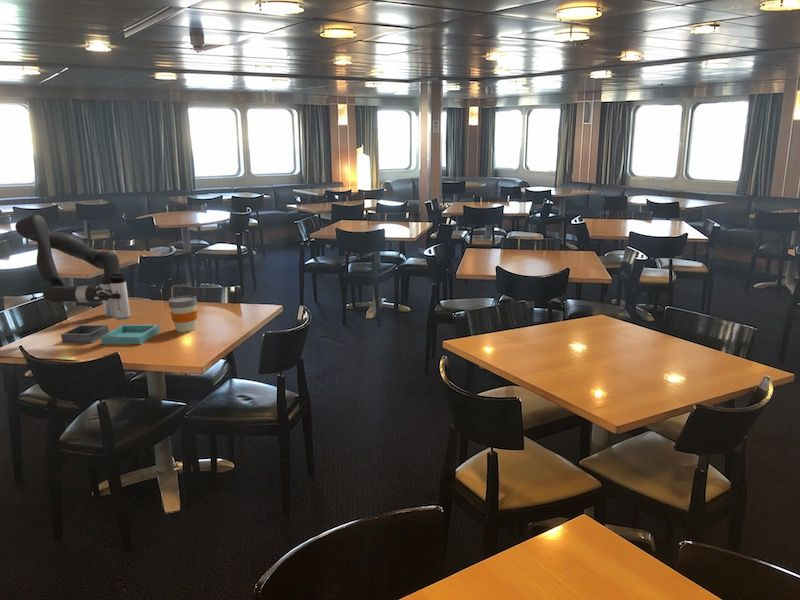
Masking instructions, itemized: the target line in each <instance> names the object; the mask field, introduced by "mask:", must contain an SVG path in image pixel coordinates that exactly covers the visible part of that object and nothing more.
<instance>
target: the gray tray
mask: <svg viewBox="0 0 800 600" xmlns="http://www.w3.org/2000/svg"><path fill="white" fill-rule="evenodd" d="M109 332H110V331H109V325H108V324H101V325H100V324H90V325H89V324H80V325H77V326H75V327H73V328H70V329H69V330H67V331H65V332H63V333H61V334H60V337H61V342H62V344H93V343H95V342H96V341H98V340H101V337H102V336H103V335H105V334H107V333H109ZM94 341H95V342H94ZM92 342H93V343H92Z"/></svg>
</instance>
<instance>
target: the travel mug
mask: <svg viewBox="0 0 800 600" xmlns="http://www.w3.org/2000/svg"><path fill="white" fill-rule="evenodd" d="M110 284H111V291H112V294H120V295H121V298H120V299H113V305H114V312H115V317H114V318H115V320H118V321H123V320H128V319H131V317H132V316H131V311H130V302H129V295H128V294H127V290H128V289H127V288H128V287H127V281H126V276H125V274H121V273H120V274H111V275H110Z"/></svg>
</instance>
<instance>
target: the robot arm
mask: <svg viewBox="0 0 800 600" xmlns="http://www.w3.org/2000/svg"><path fill="white" fill-rule="evenodd" d="M14 227H15V230H16V232H17V233H18V234H19V236H21V237H22V238H24V239H26V240H30V241H33V242H36V243H37V244H36V245H37V255H36V267H37V270H38V273H39V276H40V279H41V281H42V282H44V283H47V284H48V285H49V286H48V287H45V289H43V292H42V297H43V298H44V300H45V301H46V302H48V303H64V302H73V303H75V302H76V303H100V302H102V304H103V310H104V311H103V312H104V316H105V317H106V318H113V317H114V318H115V312H114V305H113V299H120V298H121V295H120V294H112V291H111V284H110V275H111V274H121V269H120V260H119V256H118V255H117V254H116V253H115V252H113V251H105V250H98V249H95V248H92V247H90V246H88V245H87V244H86V242H84V241H83V240H82V239H81V238H79V237H77V236H75V235H72V234H70V233H67V232H62V231H56V230H55V231H54V230H49V227H48V224H47V222H46V220H45V218H44V217H42V215H40V214H31V215H29V216H26V217H24V218H21V219H19V220H17V222H16V223H15V226H14ZM52 249H55V250H57V251H59V252H61V253H64V254H65V255H68V256H70V257H72V258H73V257H74V258H76V259H79V260H82V261H85V262H86V263H88V264H90V265H91V266H93V267H95V268H97V269H99V270H103V276H101V277H99V280H98V281H99V285H78V286H77V285H75V286H74V285H73V286H72V285H70V286H66V285H65V283H64V282H63V280H62V277H60V275H59V273H58V270H57V266H56V264H55V261H54V257H53V253H52ZM127 294H128V296H129V295H130V291H129V290H128V289H127Z"/></svg>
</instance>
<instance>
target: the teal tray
mask: <svg viewBox="0 0 800 600" xmlns="http://www.w3.org/2000/svg"><path fill="white" fill-rule="evenodd" d="M157 333H158V334H159V333H161V331H160V324H122V325H120V326H118V327H116V328H114V329H113V330H111V331H109V333H107V334H105V335H103V336H102V337H101V338H100V340H101V341H100V342H101V345H102V344H104V346H105V345H107V344H108V345H109V346H110V344H112V346H113V345H116V346H118V345H119V346H120V345H123V346H124V345H126V344H127V345H126V346H128V344H141V345H142V344H144V343H145V341H146V340H147V341H149V340H150V339H152V338H154V337H155V336H157V335H158V334H157ZM154 335H155V336H154ZM151 337H152V338H151ZM148 339H149V340H148ZM147 341H146V342H147ZM143 342H144V343H143Z"/></svg>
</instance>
